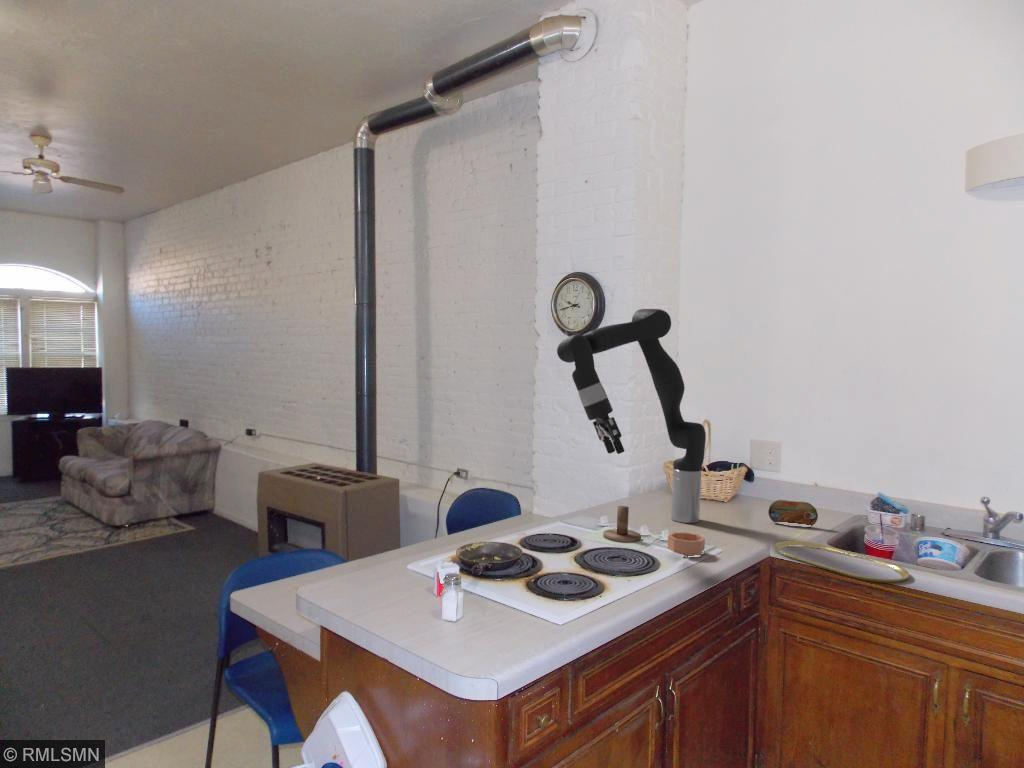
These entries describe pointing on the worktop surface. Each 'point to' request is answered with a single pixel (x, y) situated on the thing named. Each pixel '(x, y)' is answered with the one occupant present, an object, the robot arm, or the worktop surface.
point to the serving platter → (787, 543)
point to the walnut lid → (622, 528)
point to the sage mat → (598, 537)
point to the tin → (793, 512)
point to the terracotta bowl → (686, 543)
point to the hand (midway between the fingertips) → (616, 452)
